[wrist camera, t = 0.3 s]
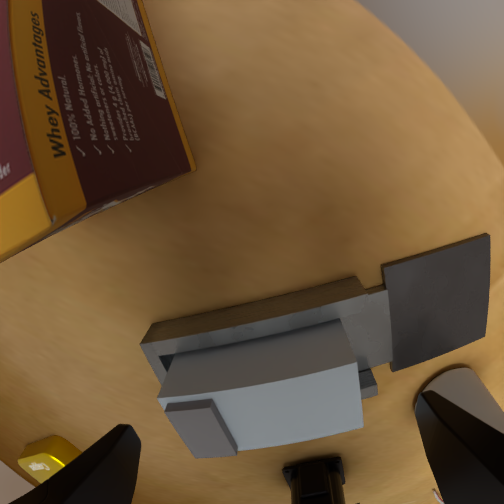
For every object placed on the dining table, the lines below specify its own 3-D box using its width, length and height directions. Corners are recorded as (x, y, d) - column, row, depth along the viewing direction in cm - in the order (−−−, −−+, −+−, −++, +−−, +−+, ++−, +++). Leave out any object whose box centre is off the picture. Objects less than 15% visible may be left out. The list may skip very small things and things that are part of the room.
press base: (481, 333, 24) (497, 349, 21) (195, 408, 27) (189, 431, 24) (486, 233, 21) (507, 243, 18) (150, 320, 24) (137, 340, 21)
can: (479, 386, 26) (528, 461, 14) (424, 426, 27) (459, 508, 16) (463, 349, 24) (527, 433, 13) (401, 395, 26) (442, 493, 14)
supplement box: (78, 222, 22) (-82, 313, 7) (34, 55, 18) (-113, 28, 3) (200, 173, 21) (56, 235, 6) (141, -10, 16) (23, -122, 1)
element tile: (60, 430, 31) (45, 454, 27) (140, 491, 35) (132, 515, 30) (24, 444, 34) (12, 463, 30) (90, 496, 38) (82, 515, 33)
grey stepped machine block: (347, 373, 24) (366, 435, 17) (205, 400, 25) (191, 462, 19) (336, 310, 22) (360, 370, 15) (178, 345, 23) (153, 406, 17)
